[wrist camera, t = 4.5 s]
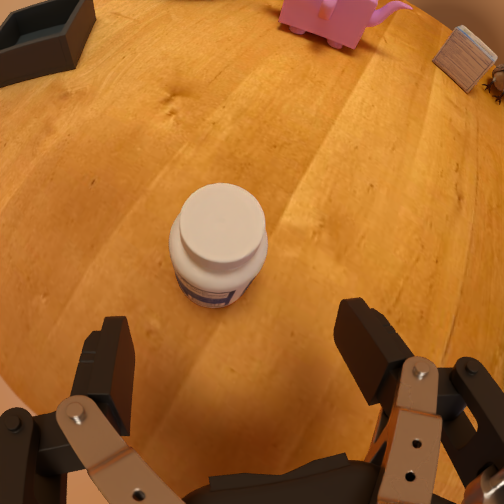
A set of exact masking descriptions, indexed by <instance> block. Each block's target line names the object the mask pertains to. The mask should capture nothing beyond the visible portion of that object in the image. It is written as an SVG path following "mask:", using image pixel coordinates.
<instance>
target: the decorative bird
mask: <svg viewBox="0 0 504 504" xmlns="http://www.w3.org/2000/svg"><path fill="white" fill-rule="evenodd" d="M492 77H493V81H492V82H491V83H490V84H488V85H486V84H482V85H485V86H487V87H486V89H489V93H490V87H491V84H492V83H493V82H494V85H495V87H496V88H497V89H498V90H499V91H503V93H502V94H501V95H500V96H494V97H497V99H496V101H497V100H499V105H500V102H501V97H502V96H503V94H504V64H500V65H498V66H497V67H496V68H495V69H494V70H493V72H492ZM486 89H485V90H486ZM496 101H495V102H496Z"/></svg>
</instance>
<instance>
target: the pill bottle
mask: <svg viewBox="0 0 504 504" xmlns="http://www.w3.org/2000/svg"><path fill="white" fill-rule="evenodd" d="M267 249H268V239H267V233H266V230H265V216H264V213H263V210H262V208H261V206H260V204H259V203H258V201H257V200H256V198H255V197H254V196H253V195H252V194H250V193H249V192H248V191H246V190H245V189H243V188H241V187H239V186H236V185H232V184H227V183H215V184H210V185H207V186H204V187H202V188H200V189H198V190H196V191H195V192H194V193H192V194H191V195H190V197H189V198H188V199H187V200H186V202H185V203H184V205H183V207H182V209H181V212H180V213H179V215H178V216H177V218H176V219H175V221H174V223H173V225H172V227H171V231H170V236H169V252H170V257H171V260H172V263H173V267H174V270H175V274H176V277H177V281H178V283H179V286H180V288H181V289H182V291H183V292H184V294H185V295H186V296H187V297H188V298H189V299H190V300H191V301H193V302H194V303H196V304H198V305H200V306H204V307H208V308H219V307H224V306H227V305H229V304H231V303H233V302H234V301H236V300H237V299H238V298H239V297H241V296H242V294H243V293H244V292H245V291H246V290H247V288H248V286H249V285H250V284H251V282H252V281H253V279H254V278H255V277H256V275H257V274H258V273H259V271H260V270H261V268H262V266H263V264H264V261H265V258H266V255H267Z"/></svg>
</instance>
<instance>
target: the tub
mask: <svg viewBox="0 0 504 504" xmlns="http://www.w3.org/2000/svg"><path fill="white" fill-rule="evenodd" d="M95 20H96V16H95V10H94V4H93V0H48V1H44V2H41V3H37V4H34V5H31V6H28V7H25V8H22V9H19V10H16V11H13V12H11V13H10V14H9V15H8V17H7V18H6V19H5V21H4V22H3V23H2V25H1V26H0V87H4V86H7V85H10V84H14V83H17V82H21V81H24V80H28V79H32V78H36V77H40V76H44V75H48V74H53V73H57V72H62V71H67V70H72V69H75V68H76V65H77V63H78V60H79V57H80V55H81V52H82V50H83V48H84V45H85V43H86V40H87V38H88V36H89V34H90V31H91V29H92V27H93V25H94V23H95Z"/></svg>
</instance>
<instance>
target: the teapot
mask: <svg viewBox="0 0 504 504" xmlns="http://www.w3.org/2000/svg"><path fill="white" fill-rule="evenodd" d="M376 7H377V0H284V3H283V6H282V10H281V13H280V17H279V21H278V22H281V23H284V24H287V25H290V27H289V30H290V31H291V32H293V33H296V34H304V33H305V32H306V31H308V32H311V33H314V34H316V35H319V36H322V37H324V38H327V43H328V44H329V45H330V46H332V47H334V48H338V49H340V48H342V45H345V46H347V47H349V48H352V49H354V50H355V48H356V46H357V44H358V42H359V40H360V38H361V36H362V34H363V32H364V30H365V28H366V27H372V26H376V25H378V24H380V23H381V22H383V21H384V20H385V19H386V18H387V17H388V16H389V15H390V14H392V13H393V12H394V11H396V10H399V9H413V8H412V7H410V6H409V5H407V4H405V3H403V2H400V1H392V2H389V3H388V4H386V5H385V6H384V7H382V8H380V9H378V10H375V8H376Z"/></svg>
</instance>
